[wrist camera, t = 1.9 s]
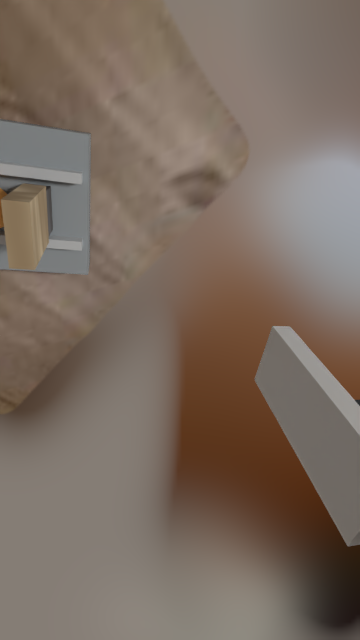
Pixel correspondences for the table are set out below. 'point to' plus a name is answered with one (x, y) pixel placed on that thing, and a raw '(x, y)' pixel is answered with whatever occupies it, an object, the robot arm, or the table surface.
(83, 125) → the table surface
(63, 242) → the board
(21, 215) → the tan block
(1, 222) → the ball
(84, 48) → the table surface
